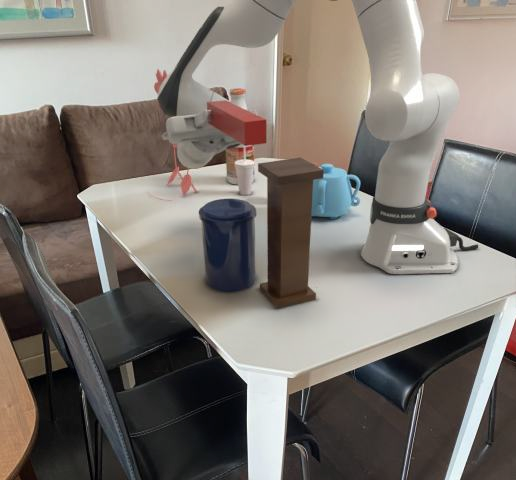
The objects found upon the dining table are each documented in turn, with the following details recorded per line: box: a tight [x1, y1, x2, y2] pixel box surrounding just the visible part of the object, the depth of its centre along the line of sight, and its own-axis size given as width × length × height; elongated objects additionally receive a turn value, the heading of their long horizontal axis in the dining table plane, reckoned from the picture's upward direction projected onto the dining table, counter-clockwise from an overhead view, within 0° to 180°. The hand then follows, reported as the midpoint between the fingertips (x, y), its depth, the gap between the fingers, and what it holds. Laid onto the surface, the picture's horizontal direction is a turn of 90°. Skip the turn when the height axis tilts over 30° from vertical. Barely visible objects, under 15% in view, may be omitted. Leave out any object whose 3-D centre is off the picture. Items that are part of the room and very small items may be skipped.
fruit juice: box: [225, 88, 256, 186], centre depth 163 cm, size 9×9×28 cm
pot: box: [198, 198, 257, 293], centre depth 109 cm, size 12×12×17 cm
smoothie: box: [234, 147, 256, 196], centre depth 157 cm, size 6×6×14 cm
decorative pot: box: [311, 163, 361, 220], centre depth 142 cm, size 16×16×14 cm
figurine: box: [149, 68, 198, 202], centre depth 152 cm, size 15×26×35 cm, turn 29°
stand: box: [257, 157, 324, 310], centre depth 100 cm, size 9×9×27 cm
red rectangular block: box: [207, 100, 267, 146], centre depth 96 cm, size 20×4×4 cm, turn 24°
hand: (222, 112), depth 101 cm, fingers closed on red rectangular block, 4 cm apart
